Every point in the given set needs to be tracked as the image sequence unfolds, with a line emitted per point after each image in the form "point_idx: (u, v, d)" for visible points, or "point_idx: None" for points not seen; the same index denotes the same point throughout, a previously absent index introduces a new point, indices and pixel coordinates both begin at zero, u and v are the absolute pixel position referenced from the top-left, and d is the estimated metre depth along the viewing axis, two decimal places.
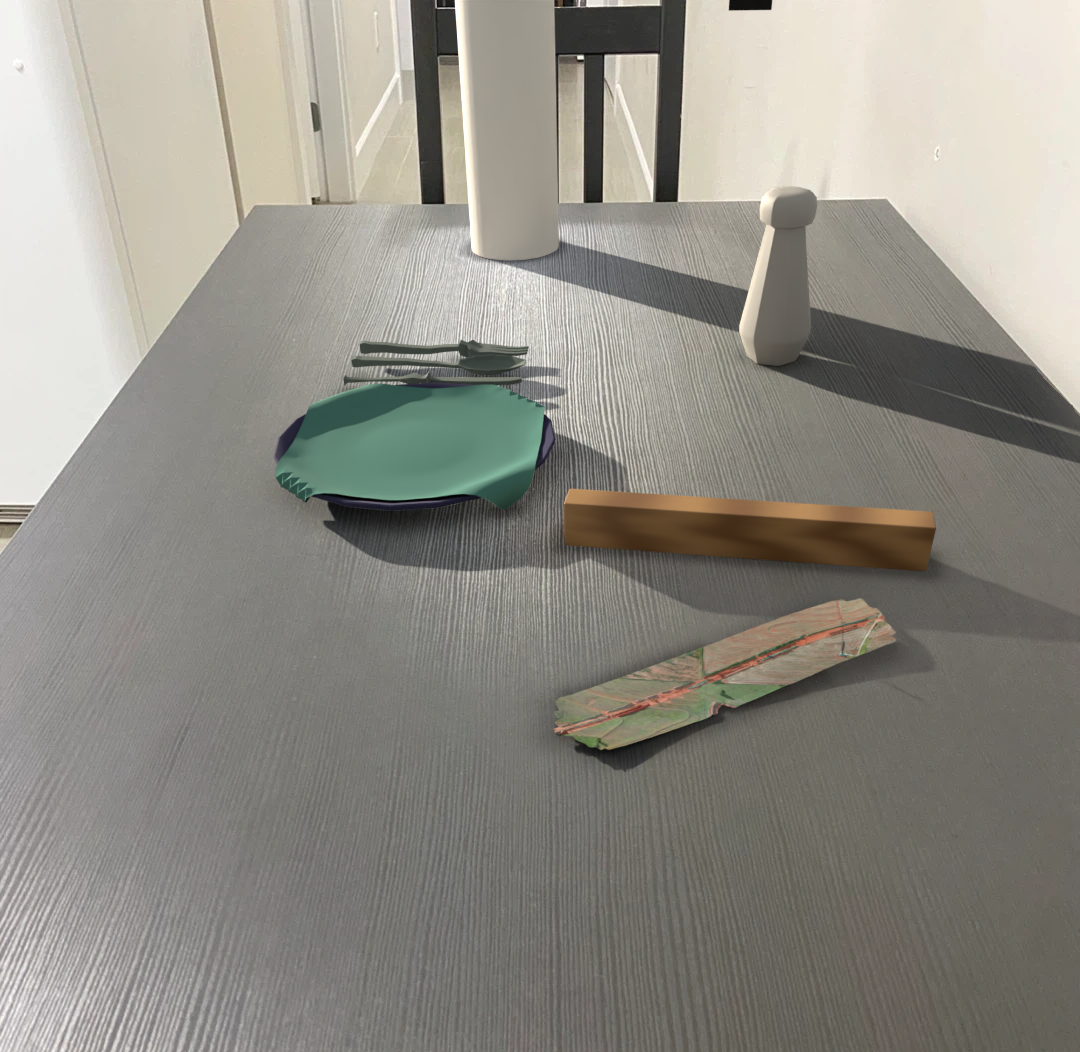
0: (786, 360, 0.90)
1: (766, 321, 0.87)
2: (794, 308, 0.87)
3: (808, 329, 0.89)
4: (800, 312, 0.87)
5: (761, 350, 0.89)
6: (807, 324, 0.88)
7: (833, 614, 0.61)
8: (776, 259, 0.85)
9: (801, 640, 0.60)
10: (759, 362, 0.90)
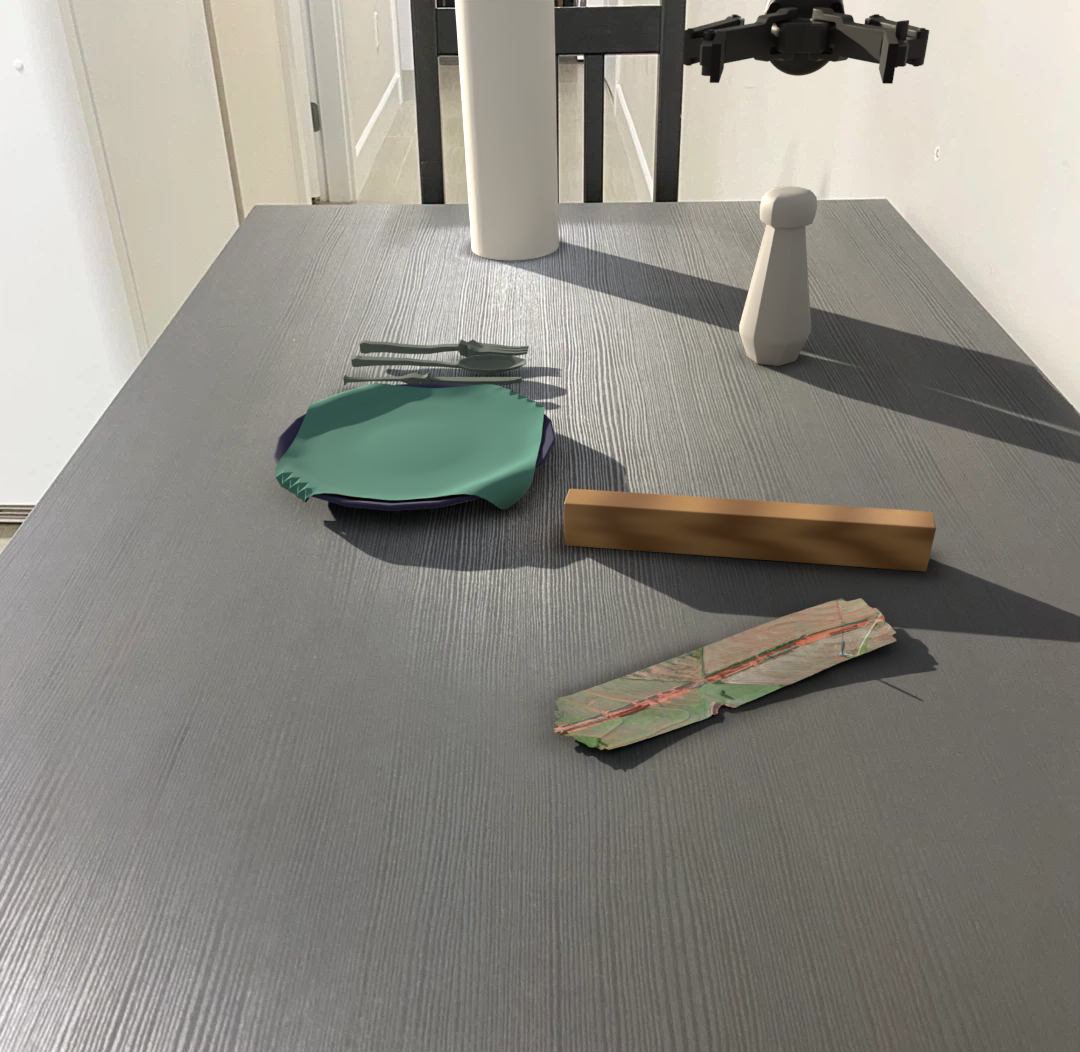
0: (786, 360, 0.90)
1: (766, 321, 0.87)
2: (794, 308, 0.87)
3: (808, 329, 0.89)
4: (800, 312, 0.87)
5: (761, 350, 0.89)
6: (807, 324, 0.88)
7: (833, 614, 0.61)
8: (776, 259, 0.85)
9: (801, 640, 0.60)
10: (759, 362, 0.90)
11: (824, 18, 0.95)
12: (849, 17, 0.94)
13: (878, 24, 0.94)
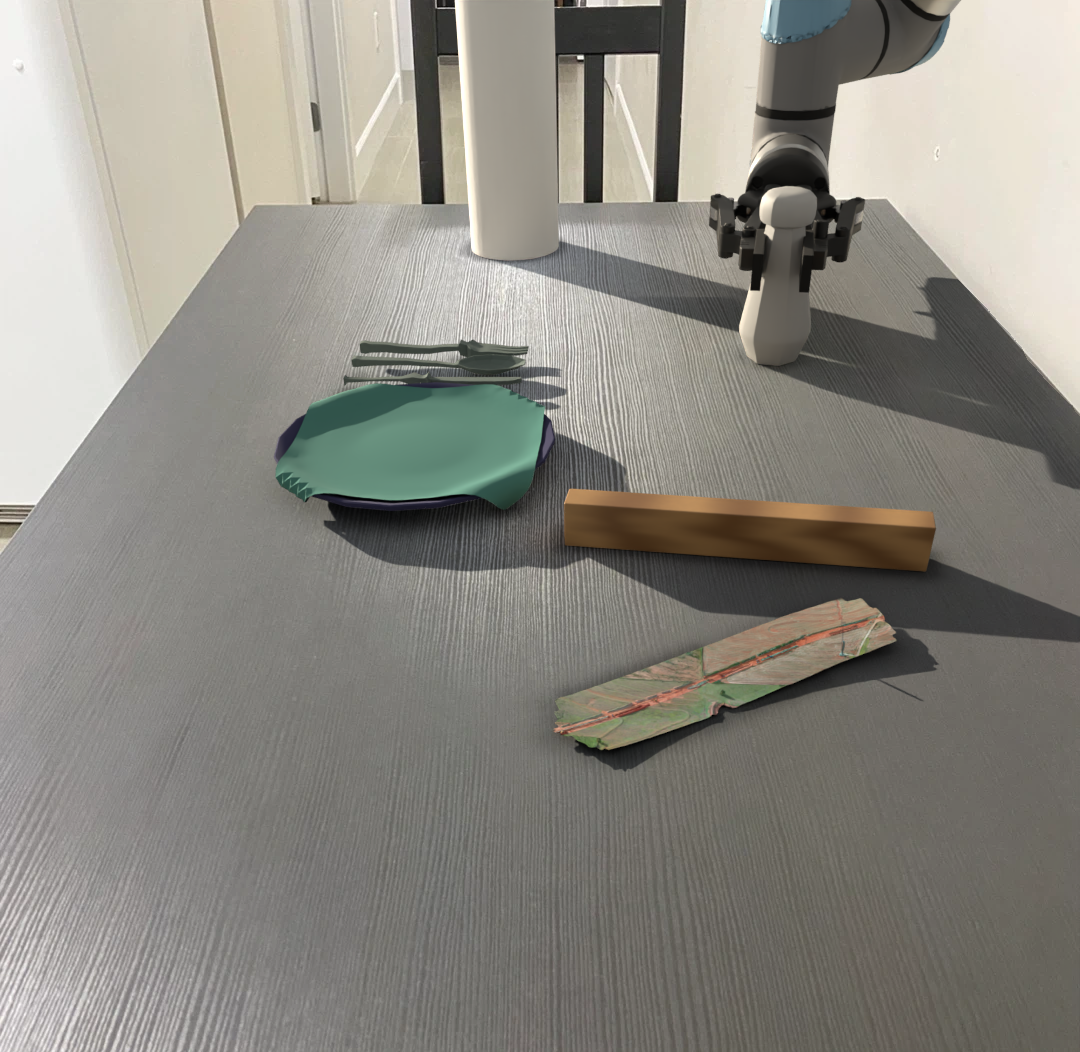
0: (786, 360, 0.90)
1: (766, 321, 0.87)
2: (794, 308, 0.87)
3: (808, 329, 0.89)
4: (800, 312, 0.87)
5: (761, 350, 0.89)
6: (807, 324, 0.88)
7: (833, 614, 0.61)
8: (776, 259, 0.85)
9: (801, 640, 0.60)
10: (759, 362, 0.90)
11: None
12: None
13: None
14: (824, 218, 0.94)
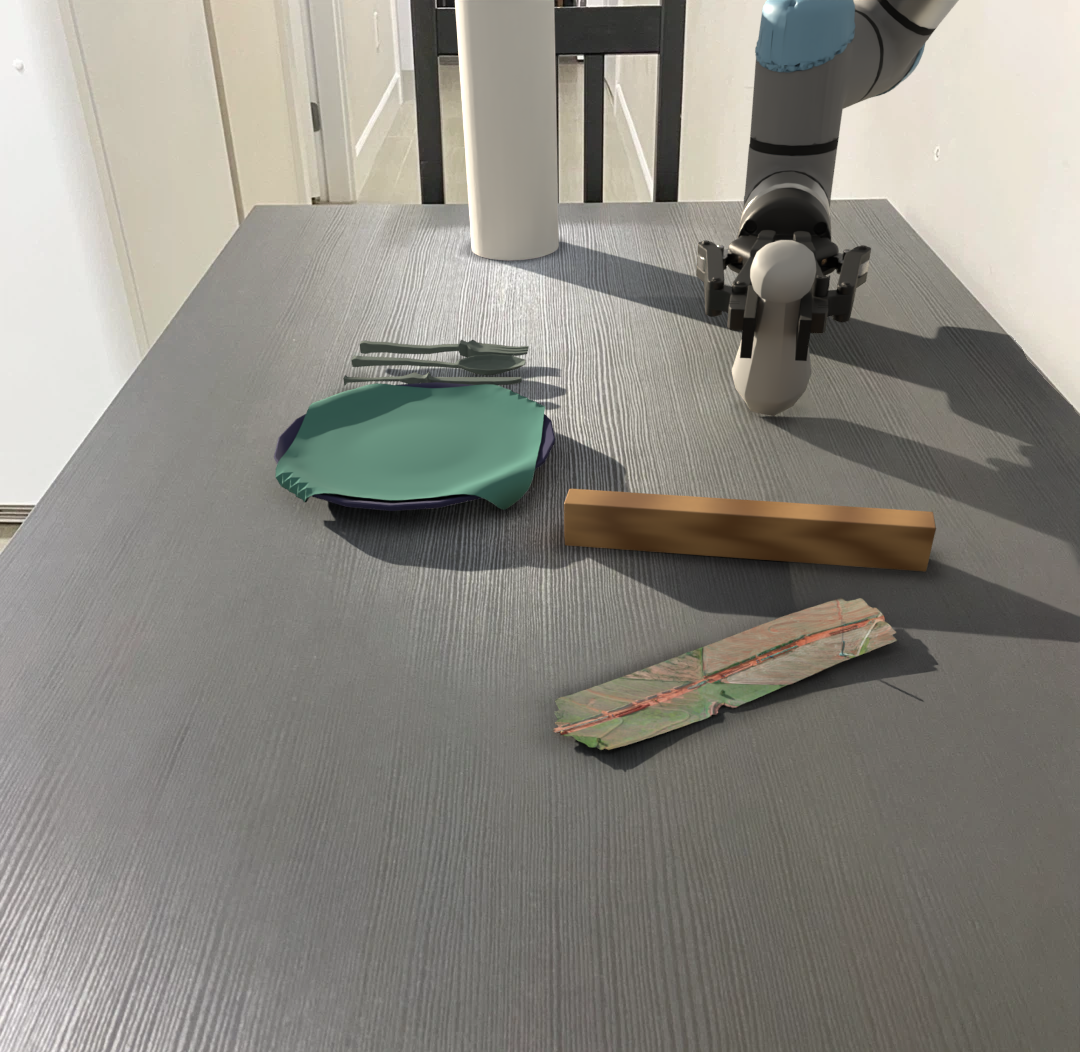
0: (782, 410, 0.82)
1: (758, 382, 0.79)
2: (789, 371, 0.78)
3: (806, 382, 0.80)
4: (796, 373, 0.79)
5: (753, 404, 0.82)
6: (805, 379, 0.80)
7: (834, 614, 0.61)
8: (768, 327, 0.76)
9: (801, 640, 0.60)
10: (752, 410, 0.83)
11: None
12: None
13: None
14: (825, 268, 0.84)
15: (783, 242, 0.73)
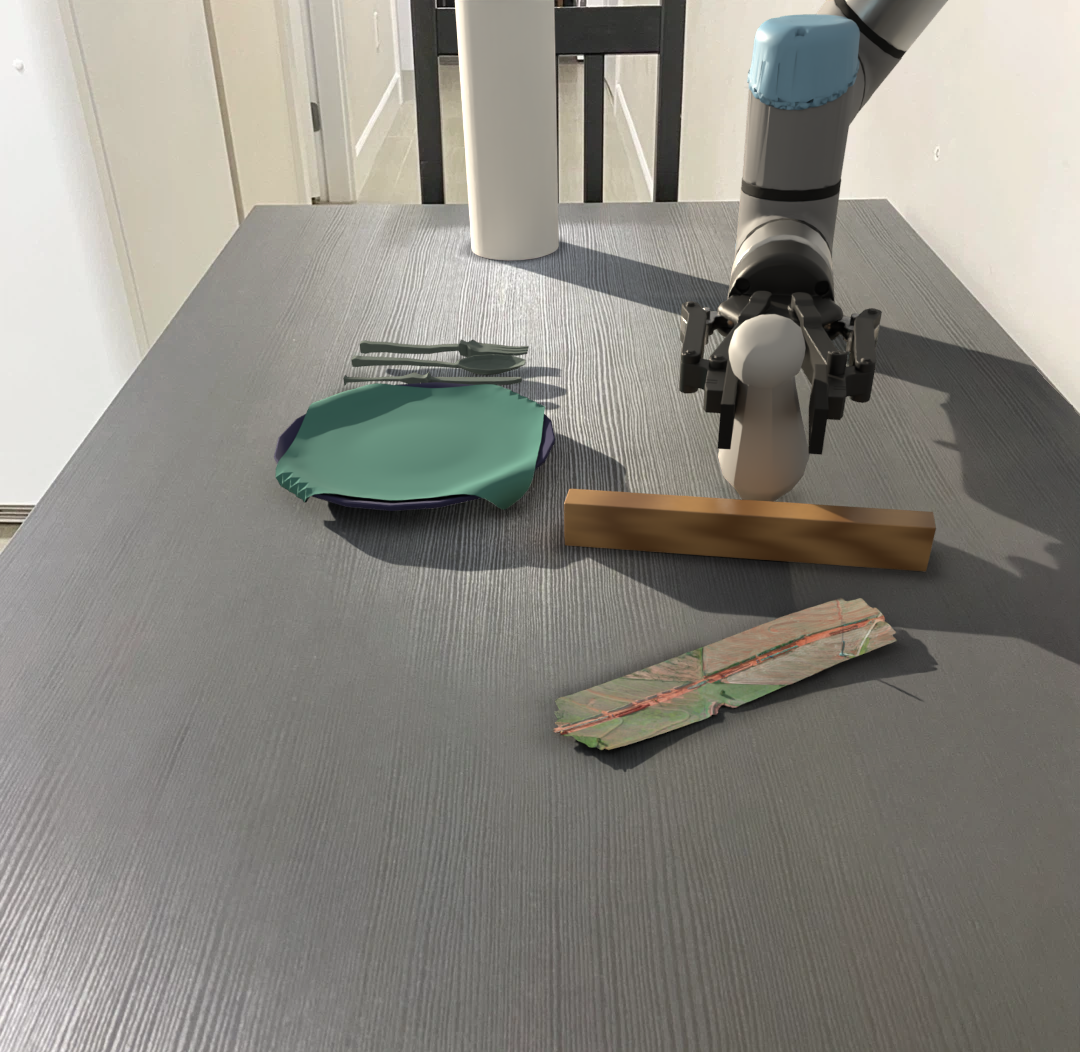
0: (778, 497, 0.72)
1: (748, 472, 0.69)
2: (783, 458, 0.68)
3: (804, 466, 0.70)
4: (791, 458, 0.68)
5: (745, 494, 0.71)
6: (802, 463, 0.69)
7: (834, 614, 0.61)
8: (754, 413, 0.65)
9: (801, 640, 0.60)
10: (745, 499, 0.72)
11: (795, 311, 0.72)
12: (815, 319, 0.71)
13: (854, 328, 0.71)
14: (828, 334, 0.74)
15: (765, 317, 0.62)
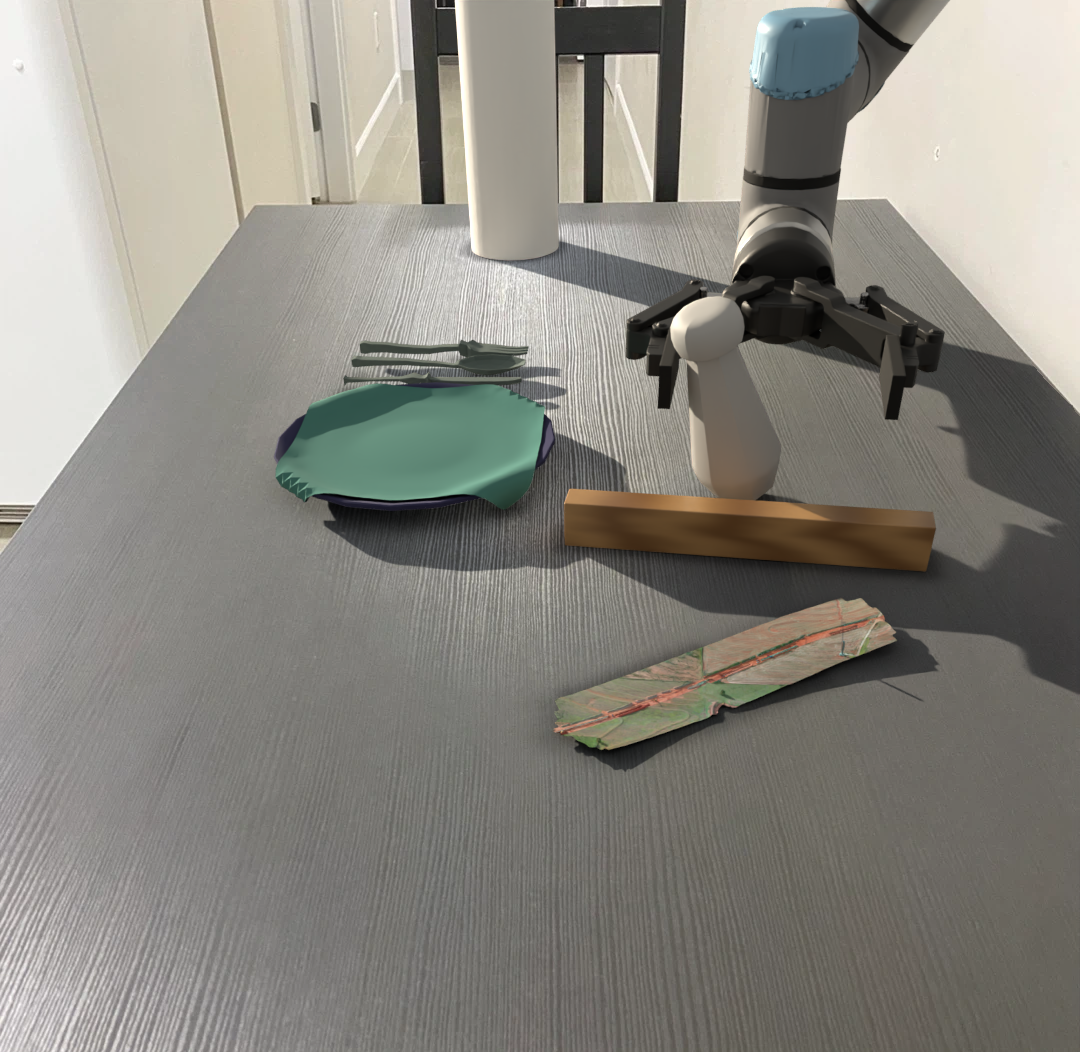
0: (760, 493, 0.71)
1: (721, 463, 0.69)
2: (751, 440, 0.68)
3: (777, 452, 0.70)
4: (760, 441, 0.68)
5: (725, 493, 0.71)
6: (773, 448, 0.69)
7: (834, 614, 0.61)
8: (710, 394, 0.66)
9: (801, 640, 0.60)
10: None
11: (808, 295, 0.74)
12: (840, 299, 0.73)
13: (878, 306, 0.73)
14: None
15: (698, 300, 0.65)
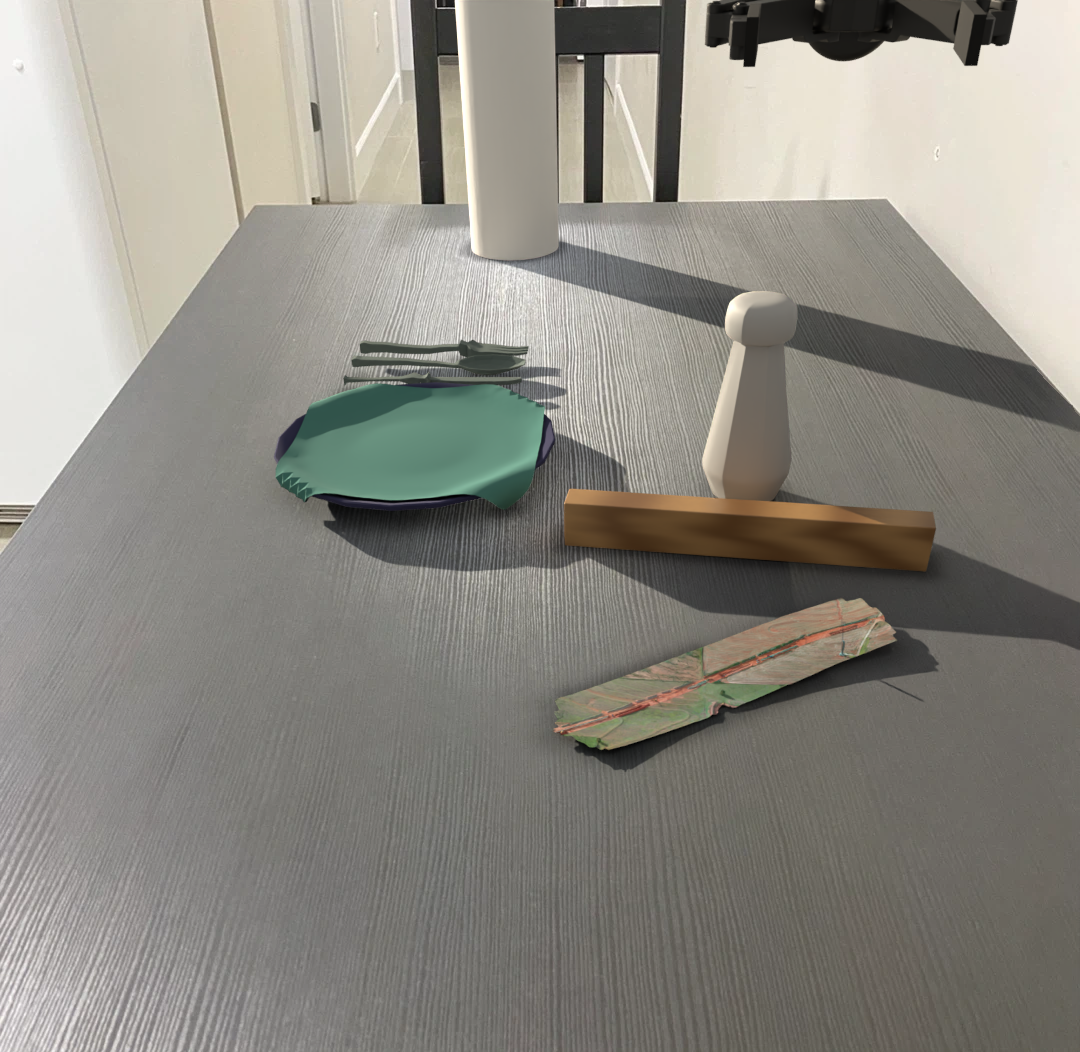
0: (763, 500, 0.72)
1: (738, 457, 0.69)
2: (773, 441, 0.69)
3: (789, 463, 0.71)
4: (780, 445, 0.69)
5: (732, 491, 0.71)
6: (788, 457, 0.70)
7: (834, 614, 0.61)
8: (749, 383, 0.67)
9: (801, 639, 0.59)
10: None
11: None
12: None
13: None
14: None
15: (758, 291, 0.66)
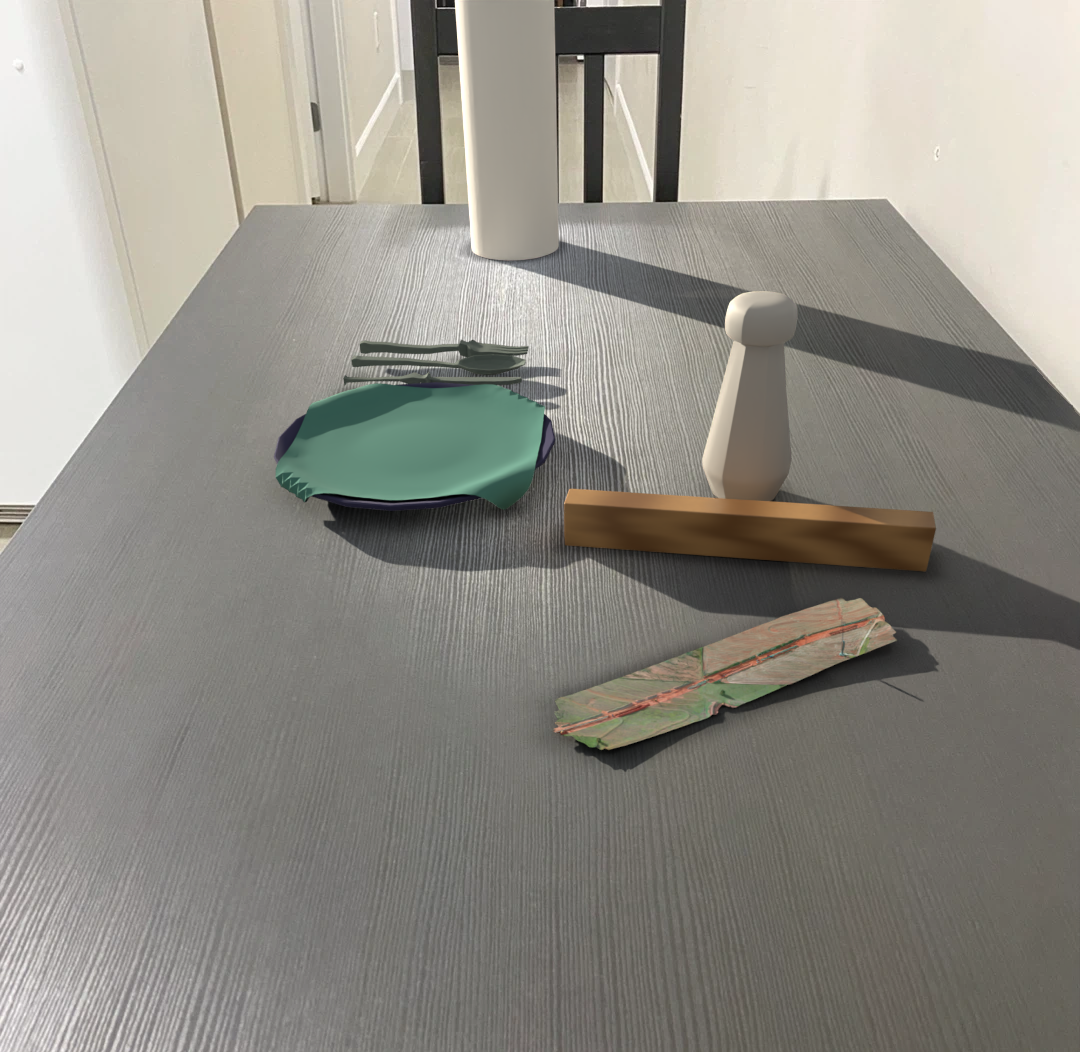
0: (763, 500, 0.72)
1: (738, 457, 0.69)
2: (773, 441, 0.69)
3: (789, 463, 0.71)
4: (780, 445, 0.69)
5: (732, 491, 0.71)
6: (788, 457, 0.70)
7: (834, 614, 0.61)
8: (749, 383, 0.67)
9: (801, 639, 0.59)
10: None
11: None
12: None
13: None
14: None
15: (758, 291, 0.66)
